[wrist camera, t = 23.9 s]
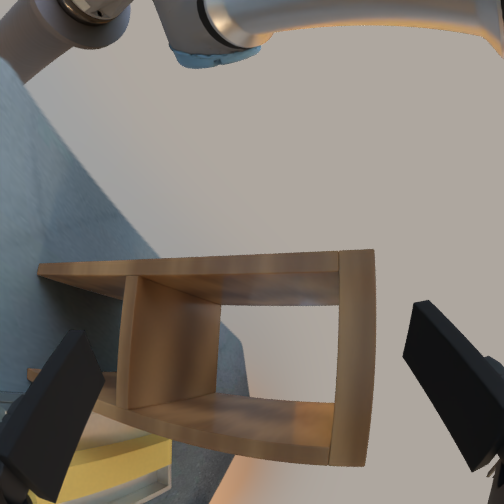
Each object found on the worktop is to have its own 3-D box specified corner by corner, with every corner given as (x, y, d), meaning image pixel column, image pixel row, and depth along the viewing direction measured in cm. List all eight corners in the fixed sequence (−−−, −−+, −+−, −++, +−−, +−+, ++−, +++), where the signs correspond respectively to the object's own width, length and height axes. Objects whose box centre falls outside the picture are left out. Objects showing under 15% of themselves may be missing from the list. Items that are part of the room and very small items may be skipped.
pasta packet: (21, 493, 15) (38, 508, 14) (15, 458, 16) (31, 473, 15) (153, 457, 34) (171, 463, 33) (153, 433, 36) (172, 438, 35)
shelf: (26, 379, 23) (364, 467, 13) (38, 263, 26) (374, 248, 16) (116, 380, 35) (364, 414, 25) (123, 291, 39) (368, 292, 29)
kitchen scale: (3, 516, 13) (31, 546, 11) (-18, 390, 17) (4, 410, 15) (145, 475, 36) (175, 486, 34) (145, 388, 41) (176, 395, 39)
